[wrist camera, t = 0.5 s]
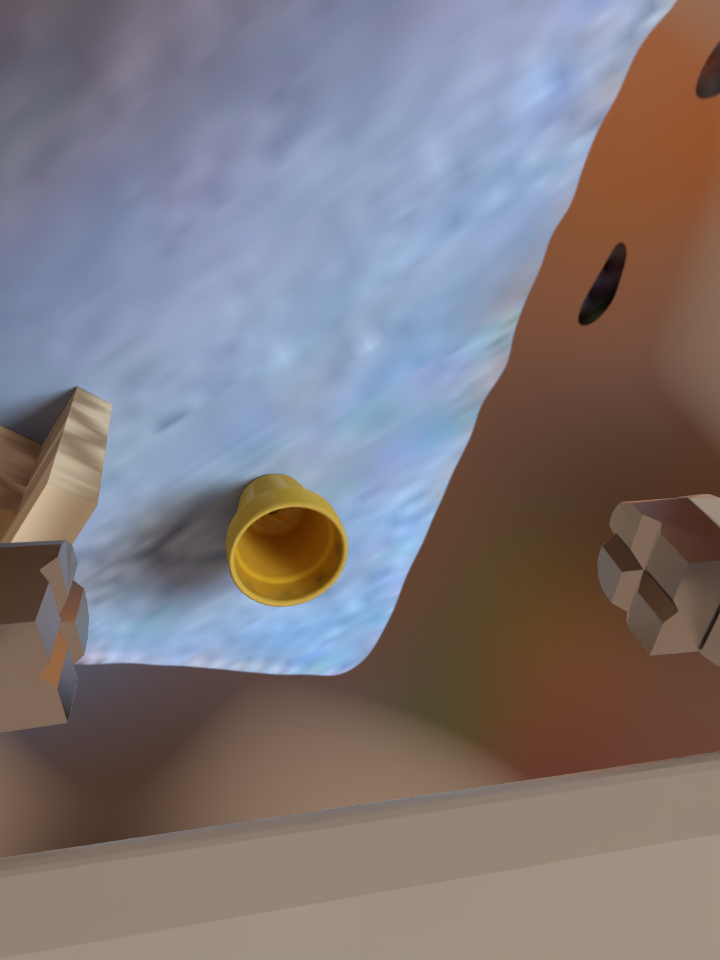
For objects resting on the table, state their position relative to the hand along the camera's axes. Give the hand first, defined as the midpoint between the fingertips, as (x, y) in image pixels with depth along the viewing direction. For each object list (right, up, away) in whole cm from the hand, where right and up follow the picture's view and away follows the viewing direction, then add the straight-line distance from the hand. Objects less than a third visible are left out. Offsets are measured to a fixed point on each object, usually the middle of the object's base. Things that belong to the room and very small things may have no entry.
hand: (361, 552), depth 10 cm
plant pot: (-9, -1, +52) cm, 53 cm away
